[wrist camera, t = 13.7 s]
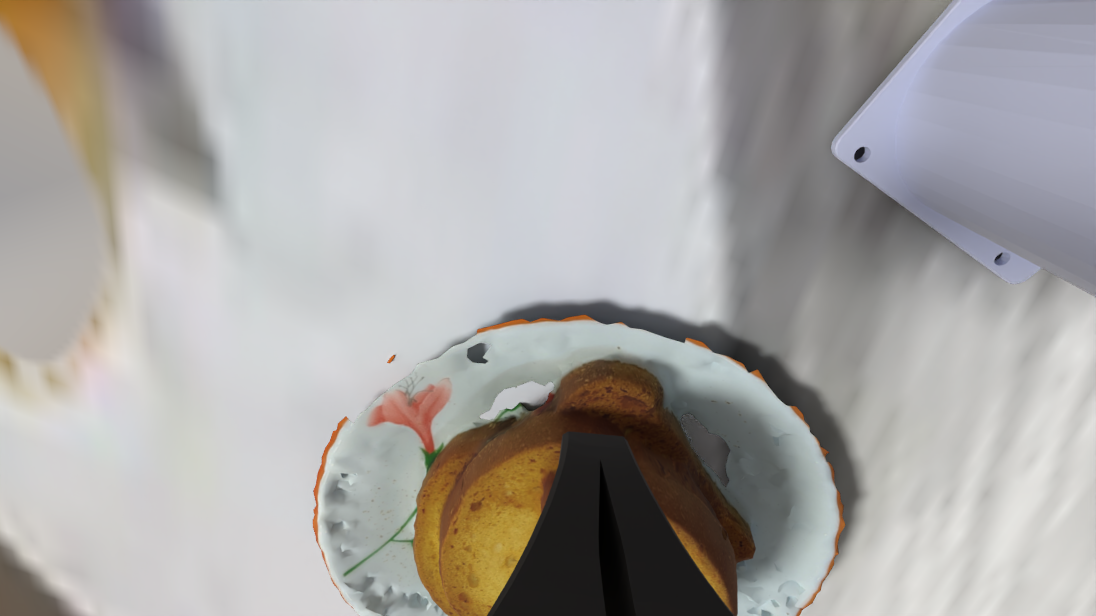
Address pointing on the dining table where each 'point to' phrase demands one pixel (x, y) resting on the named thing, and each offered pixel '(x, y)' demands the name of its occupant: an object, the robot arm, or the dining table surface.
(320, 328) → the dining table surface
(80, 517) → the dining table surface
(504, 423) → the food on plate
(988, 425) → the dining table surface
